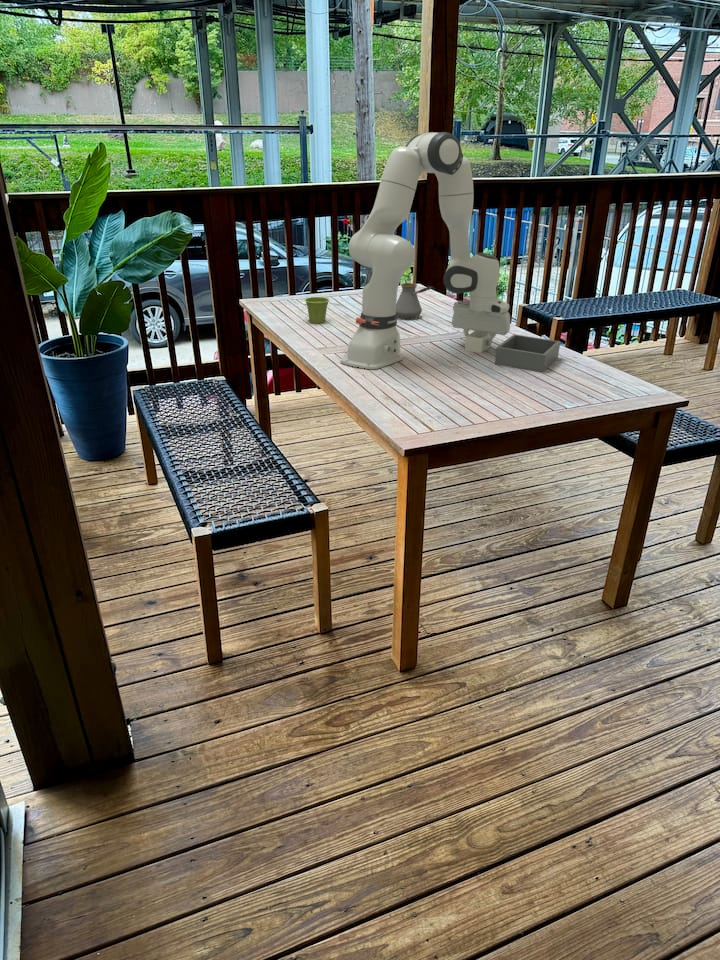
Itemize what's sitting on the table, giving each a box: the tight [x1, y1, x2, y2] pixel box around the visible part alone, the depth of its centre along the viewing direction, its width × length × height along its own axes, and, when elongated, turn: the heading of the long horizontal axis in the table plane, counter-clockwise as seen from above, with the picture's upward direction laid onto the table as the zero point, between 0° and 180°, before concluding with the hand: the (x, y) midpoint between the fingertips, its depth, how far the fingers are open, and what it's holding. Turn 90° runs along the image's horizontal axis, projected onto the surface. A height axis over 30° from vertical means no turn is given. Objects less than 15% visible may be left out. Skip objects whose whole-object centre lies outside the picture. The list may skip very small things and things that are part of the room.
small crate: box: [464, 330, 492, 354], centre depth 227 cm, size 10×6×5 cm, turn 150°
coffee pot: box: [396, 282, 434, 320], centre depth 259 cm, size 21×12×15 cm, turn 31°
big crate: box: [494, 334, 561, 373], centre depth 215 cm, size 18×16×6 cm
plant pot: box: [304, 296, 330, 324], centre depth 255 cm, size 9×9×9 cm
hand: (478, 343), depth 228 cm, fingers closed on small crate, 6 cm apart
